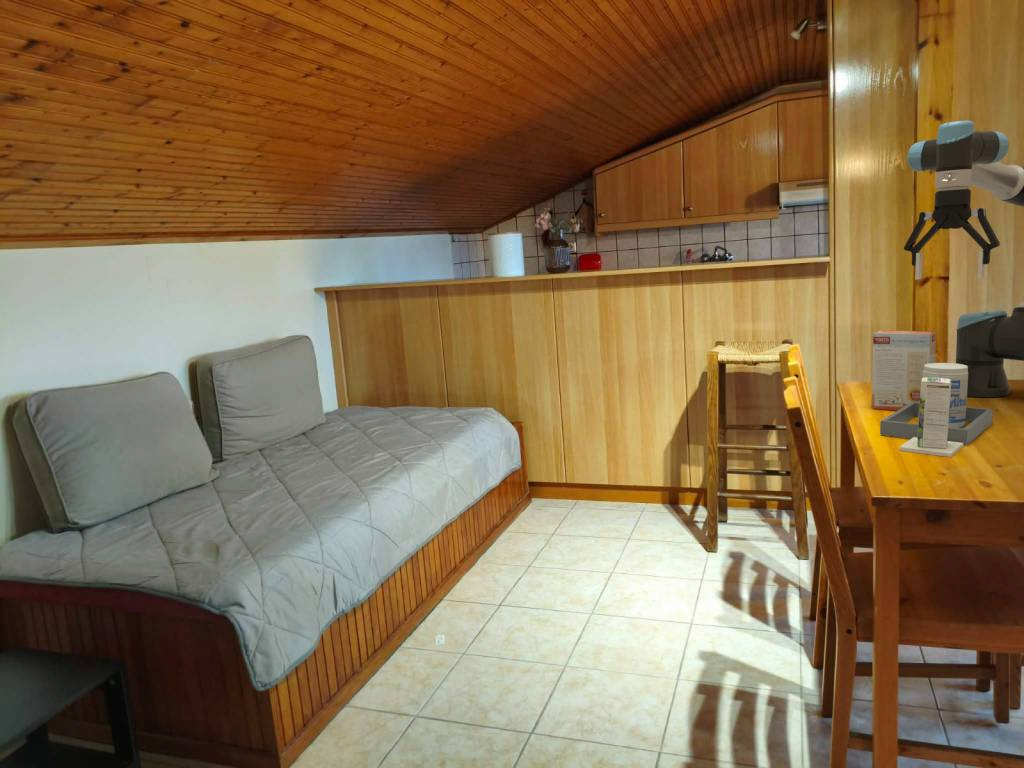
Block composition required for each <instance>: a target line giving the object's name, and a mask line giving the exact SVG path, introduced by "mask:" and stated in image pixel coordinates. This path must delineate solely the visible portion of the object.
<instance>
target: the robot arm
mask: <svg viewBox="0 0 1024 768" xmlns="http://www.w3.org/2000/svg"><path fill="white" fill-rule="evenodd" d="M1009 147H1010V143H1009V138H1008V137H1007V136H1006V135H1005V134H1004V133H1002V132H1000V131H994V130H988V131H985V130H982V131H981V130H980V131H977V130H976V131H975V123H974V122H973V121H972V120H957V121H948V122H945V123H943V124H940V125H939V127H938V129H937V136H936V138H933V139H925V140H922V141H918V142H915V143H914V144H912V145H911V146H910V148H909V150H908V153H907V165H908V166H909V168H910V169H911V170H912V171H914V172H926V171H932V172H935V180H934V181H935V182H934V188H935V190H937V191H935V193H934V206H933V207H934V209H933V211H932V212H927V211H920V212H919V215H918V221H917V223H916V225H915V227H914V228H913V230H912V232H911V234H910V236H909V237H908V239H907V241H906V243H905V245H904V246H903V250H904V251H907V252H910V253H911V266H912V267H915V277H914V279H915V281H916V280H918V281H919V280H921V279H922V278H923V277H922V276H923V257H924V255H923V254H924V253H923V252H921V250H922V249H923V248H924V247H925V246H926V245H927V243H928V242H929V241H930V240H931V239H932V238H934V236H935V235H936V234H937V233H938V232H939V231H940V230H951V229H952V230H957V229H959V230H960V229H961V228H962V230H964V231H965V232H966V233H967V234H968V235H969V236H970V237H971V238H972V239H973V241H975V242H976V243H977V244H978V246H979V247H980V248H981V249H982V250H979V251H978V266H977V267H978V268H977V280H981V279H985V268H986V267H985V266H986V265H989V264H990V262H991V251H992V250H993V249H995V248H998V247H1000V246H1001V243H1000V241H999V238H998V237H997V235H996V233H995V231H994V230H993V228H992V226H991V225H992V224H990V222H989V220H988V218H987V211H986V208H984V207H979V208H977V209H973V210H972V208H971V199H972V198H971V196H972V190H971V189H969V188H970V187H971V186H973V187H976V188H977V189H981V190H984V191H987V192H989V193H991V195H992V196H993V197H994V199H997V200H1000V201H1002V202H1005V203H1007V204H1008V203H1009V204H1012V205H1015V206H1019V207H1022V208H1024V166H1020V165H1017V164H1007V165H1006V164H1004V163H1002V162H1000V161H1001V160H1003V159H1004V158H1005V156H1006V155H1007V153H1008V151H1009ZM972 215H973V216H974V218H976V219H977V221H978V222H979V223H980V226H981V227H982V230H983V232H984V233H985V235H986V237H987V239H988V241H989V243H988V242H987V240H986V239H985V238H984V237H983V236H982V235H981V234H980V233H979V232H978V231H977V230H976V229H975V227H973V225H972V224H971V223H970V222H969V220H970V218H971V217H972ZM930 218H932V219H933V221H934V222H935V223H933V225H932V226H931V227H930V229H929V230H928V231H927V232H926V233H925V234H924V235H923V236H922V237H921V239H920V240H919V241H917V240H918V238H919V236H920V235H921V232H922V231H923V229H924V227H925V225H926V223H927V222H929V221H930ZM916 241H917V243H916ZM956 325H957V327H956V346H955V347H956V348H955V349H956V350H955V364H962V365H966V366H968V386H967V397H969V396H970V397H971V398H999V397H1005V396H1008V395H1009V394H1010V389H1011V387H1010V383H1009V380H1008V376H1007V373H1006V371H1005V368H1004V364H1005V363H1004V362H1005V360H1010V361H1011V360H1012V361H1021V362H1024V297H1023V299H1022V302H1021V303H1020V304H1017V305H1015V306H1014V307H1013V309H1012V313H1011V316H1009V315H1008V314H1007V311H1006V310H1002V309H1001V310H990V311H980V312H979V311H978V312H972V313H963V314H961V315H960V316H959V317H958V319H957V324H956Z"/></svg>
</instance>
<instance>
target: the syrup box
mask: <svg viewBox="0 0 1024 768" xmlns="http://www.w3.org/2000/svg"><path fill="white" fill-rule="evenodd" d="M950 394H951V380H950V379H946V378H937V377H926V378H922V381H921V391H920V402H919V417H917V418H918V421H917V422H918V423H917V424H918V439H917V446H918V447H929V448H947V441H948V425H949V411H950Z"/></svg>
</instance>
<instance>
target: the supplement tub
mask: <svg viewBox="0 0 1024 768" xmlns="http://www.w3.org/2000/svg"><path fill="white" fill-rule="evenodd" d="M926 377H937V378H946V379H950V380H951V394H950V411H949V425H948V427H952V428H963V427H965V425H966V422H965V420H966V407H967V400H968V396H967V386H968V366H966V365H962V364H956V362H955V363H953V362H951V363H950V362H935V363H930V364H925V365H924V370H923V378H926Z"/></svg>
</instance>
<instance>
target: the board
mask: <svg viewBox="0 0 1024 768" xmlns="http://www.w3.org/2000/svg"><path fill="white" fill-rule="evenodd" d="M917 439H918V438H917V437H913V438H912V439H909V440H907V441H906V442H905V443H903V444H901V445H900V446H899V451H901V452H909V453H914V454H916V453H917V454H921V455H922V454H923V455H931V456H937V457H938V456H939V457H946V458H952V457H953V456H954V455H955V454H956V453H957V452H959V451H960V450H961V449H962V448H963V447H964V445H963V443H960V442H951V441H947V448H929V447H918V446H917Z"/></svg>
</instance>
